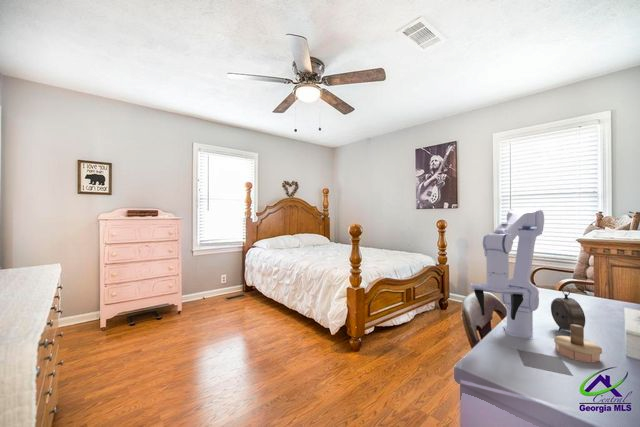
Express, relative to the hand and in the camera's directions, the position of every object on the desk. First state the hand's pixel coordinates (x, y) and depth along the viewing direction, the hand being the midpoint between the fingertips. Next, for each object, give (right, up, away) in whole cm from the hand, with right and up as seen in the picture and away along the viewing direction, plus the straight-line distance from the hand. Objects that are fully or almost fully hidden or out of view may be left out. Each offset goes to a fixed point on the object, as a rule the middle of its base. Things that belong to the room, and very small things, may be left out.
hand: (497, 316), depth 83 cm
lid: (+20, -7, -4) cm, 22 cm away
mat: (+7, -10, -8) cm, 15 cm away
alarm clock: (+32, -11, +12) cm, 36 cm away
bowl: (+21, -10, -4) cm, 23 cm away
